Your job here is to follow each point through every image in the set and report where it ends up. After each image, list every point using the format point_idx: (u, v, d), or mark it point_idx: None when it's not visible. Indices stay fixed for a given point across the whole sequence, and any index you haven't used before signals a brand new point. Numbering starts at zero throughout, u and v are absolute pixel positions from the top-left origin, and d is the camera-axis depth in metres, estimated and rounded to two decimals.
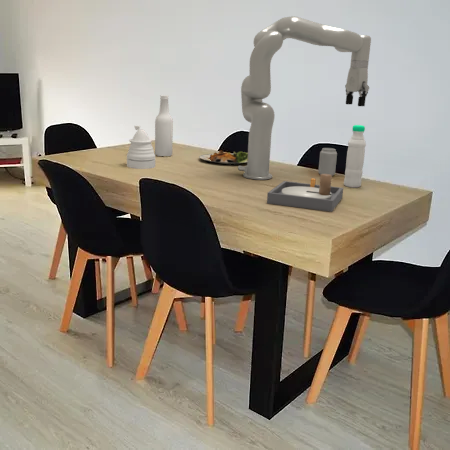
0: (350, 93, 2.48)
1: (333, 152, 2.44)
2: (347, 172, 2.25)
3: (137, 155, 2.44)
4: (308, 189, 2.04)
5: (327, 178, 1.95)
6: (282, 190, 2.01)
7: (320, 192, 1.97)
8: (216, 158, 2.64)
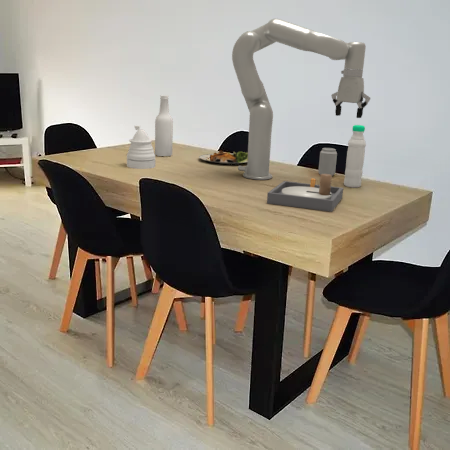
0: (339, 103, 2.31)
1: (333, 152, 2.44)
2: (347, 172, 2.25)
3: (137, 155, 2.44)
4: (308, 189, 2.04)
5: (327, 178, 1.95)
6: (282, 190, 2.01)
7: (320, 192, 1.97)
8: (216, 158, 2.64)
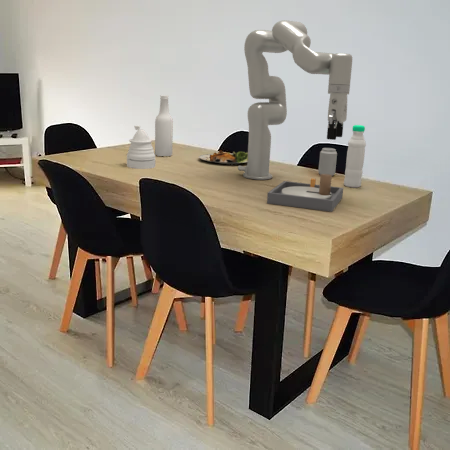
0: None
1: (333, 152, 2.44)
2: (347, 172, 2.25)
3: (137, 155, 2.44)
4: (308, 189, 2.04)
5: (327, 178, 1.95)
6: (282, 190, 2.01)
7: (320, 192, 1.97)
8: (215, 158, 2.64)
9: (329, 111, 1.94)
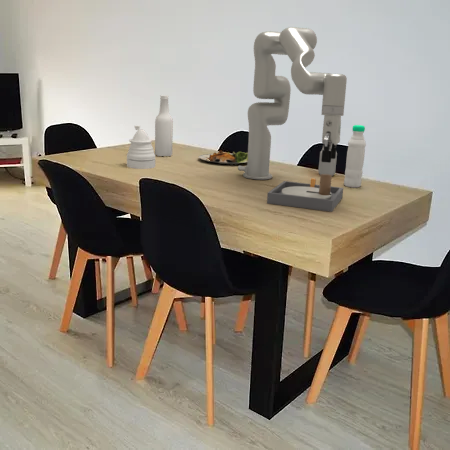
0: None
1: None
2: (347, 172, 2.25)
3: (137, 155, 2.44)
4: (308, 189, 2.04)
5: (327, 178, 1.95)
6: (282, 190, 2.01)
7: (320, 192, 1.97)
8: (215, 158, 2.64)
9: (324, 133, 1.88)
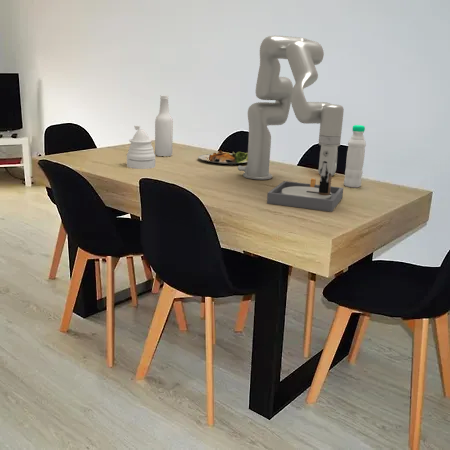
0: None
1: None
2: (347, 172, 2.25)
3: (137, 155, 2.44)
4: (308, 189, 2.04)
5: None
6: (282, 190, 2.01)
7: None
8: (215, 158, 2.64)
9: (320, 163, 1.91)
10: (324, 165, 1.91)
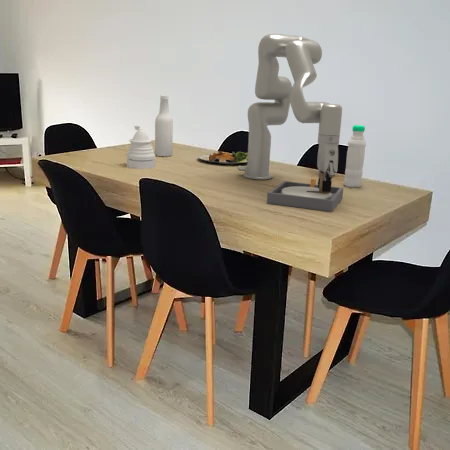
0: None
1: None
2: (347, 172, 2.25)
3: (137, 155, 2.44)
4: (304, 189, 2.04)
5: None
6: (284, 192, 1.98)
7: (322, 191, 1.99)
8: (215, 158, 2.64)
9: (326, 162, 1.92)
10: (330, 164, 1.93)
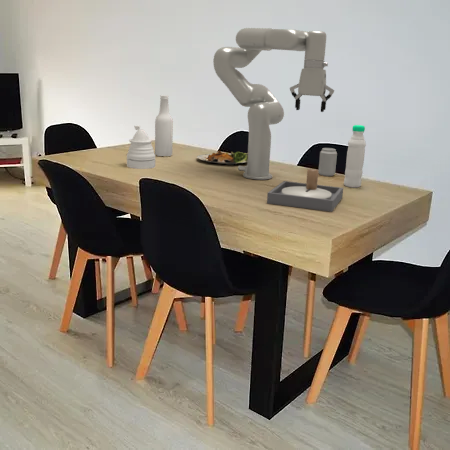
0: None
1: (333, 152, 2.44)
2: (347, 172, 2.25)
3: (137, 155, 2.44)
4: (295, 190, 2.02)
5: None
6: None
7: (314, 187, 2.04)
8: (213, 158, 2.64)
9: (324, 86, 2.10)
10: None
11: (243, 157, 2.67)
